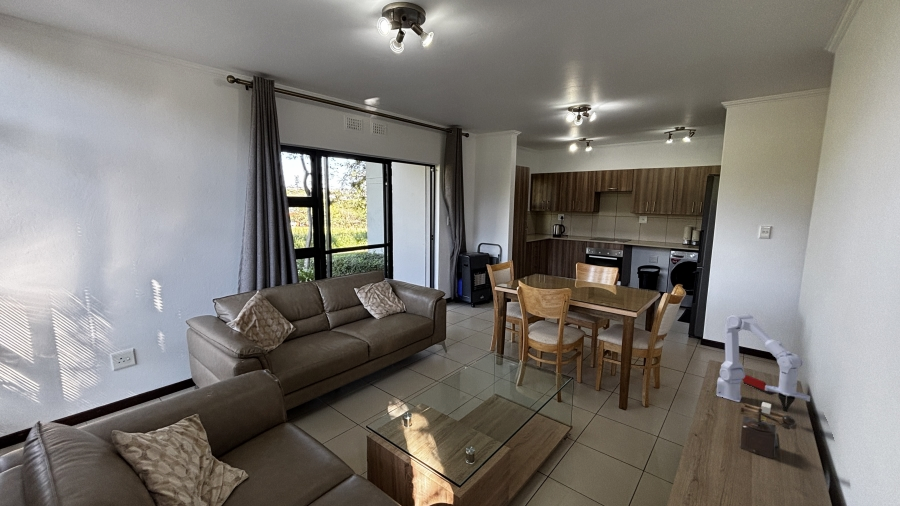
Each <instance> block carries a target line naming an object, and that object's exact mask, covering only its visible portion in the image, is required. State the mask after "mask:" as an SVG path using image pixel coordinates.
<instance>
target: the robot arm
mask: <svg viewBox="0 0 900 506" xmlns="http://www.w3.org/2000/svg"><path fill="white" fill-rule="evenodd" d="M742 330H745V331H748V332H751V333H752V334H753V335H754V336H756V337H757V338H758V339H759V340H760V341H761V342H763V343H764V348H765V349H766V350H767V351H768V352H769V353H770V354H772V356H773V357H775V359H776V362H777V364H778V366H779V375H778V376H779V378H778V379H779V380H778V386H775V385H774V386H773V385H767V384H766V386H765V390H766V391H772V392H776V393H777V395H778V399H779V400H780V401H779V402H780V403H781V406H782V412H785V413H788V410H789V409H790V406H791V405H792V404H793V402H795V399H796V398H797V399H801V400H804V401H806V402H811V396H810V395H808V394H805V393H802V392H799V391H797V385H798V374H799V368H800V367H802V366H803V361H802V360H803V359H802V358H801V357H800V356H799V355H798V354H796V353H792V352H791V351H789V350H788V349H787V348H786V347H785V346H784V345H783V343H782V342H781V341H778V340H777V339H772V337H771V336H770V335H769V334H768V333H767V332H766V331H765V330H764V329H763V328H762V326H760V324H759V323H758V321H757V319H756V318H754V316H753V315H752V314H750V313H743V314H732V315H729V316H728V317H726V323H725V324H724V351H725V356H724V357H725V360H724V361H723V363H722V364H721V365H720V369H719V377H717V381H716V395H717V397H719V398H722V397H723V398H724V399H727V400H731V401H734V402H738V403H740V402H741V399H742V397H743V396H742V395H741V386H742V385H741V383H742V381H743V380H742V379H744V378H745V375H746V372H745V368H744V365H743V364H742V363H741V362H740V344H739V339H740V338H739V332H740V331H742ZM716 395H715V396H716Z"/></svg>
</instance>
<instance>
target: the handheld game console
mask: <svg viewBox="0 0 900 506" xmlns="http://www.w3.org/2000/svg"><path fill="white" fill-rule="evenodd" d="M742 381H743V383H744V384H747V385H749V386H752V387H754V388H753V389H755V388H756V389H755V390H757V389H758V391H759V390H760V391H759V392H762V393H765V394H767V395H770V394H771V395H772V394H775V393H776V392H772V391H766V390H765V386H766V385H767V383H766V382H765V381H764V380H761V379H758V378H756V377H753V376H750V375H748V374H745V378H744V379H742ZM744 384H743V385H744ZM747 385H746V386H747ZM749 386H748V387H749ZM752 387H751V388H752Z"/></svg>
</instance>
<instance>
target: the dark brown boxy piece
mask: <svg viewBox="0 0 900 506" xmlns="http://www.w3.org/2000/svg"><path fill="white" fill-rule="evenodd" d="M757 413H758V419H757V418H753V417H750V416H748V417H747V416H746V415H744V416H743V418H742V422H741V431H740V443H739V448H740V449H742V450H744V451H748V452H750V453H753V454H756V455H759V456H763V457H766V458H769V459H770V458H771V459H775V456H776V450H775V437H776V435H777V426H776V425H777V424H774V423H771V422H767V421H764V420H761V415H763V416H764V417H766V418H769V419H771V420H773V421H776V422H778V423H779V424H781V425H782V426H781V425H780V426H781V427H782V428H783V429H786V430H791V429H792V428H791V427H792V426H795V425H796V419H795V418H793V417H792V416H790V415H789V416H787V415H788V414H785V415H784V416H783V417H782V420H783V423H782V422H781V421H779V420H777V419H774V418H772V417H770V416H767V415H765V414H763V413H762V409H761V407H760V408H758V412H757Z"/></svg>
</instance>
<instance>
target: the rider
mask: <svg viewBox="0 0 900 506" xmlns="http://www.w3.org/2000/svg"><path fill="white" fill-rule="evenodd" d="M760 408H761V409H762V413H766V414H769V415H770V411H772V410H771V409H772V403H769V402H764V401H762V403H761V406H760Z"/></svg>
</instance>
